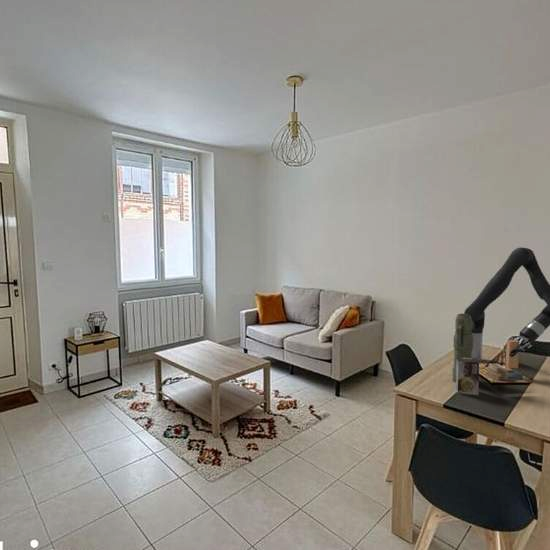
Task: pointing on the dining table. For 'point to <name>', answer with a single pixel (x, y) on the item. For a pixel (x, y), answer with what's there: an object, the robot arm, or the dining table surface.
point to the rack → (512, 376)
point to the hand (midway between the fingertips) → (508, 354)
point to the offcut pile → (497, 371)
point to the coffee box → (467, 375)
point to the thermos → (462, 339)
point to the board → (510, 361)
